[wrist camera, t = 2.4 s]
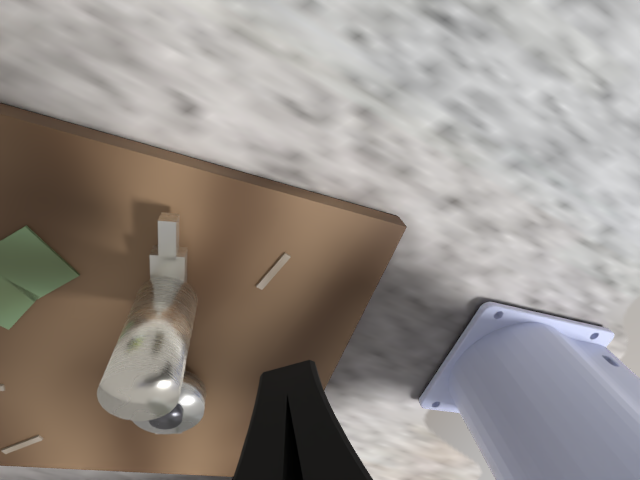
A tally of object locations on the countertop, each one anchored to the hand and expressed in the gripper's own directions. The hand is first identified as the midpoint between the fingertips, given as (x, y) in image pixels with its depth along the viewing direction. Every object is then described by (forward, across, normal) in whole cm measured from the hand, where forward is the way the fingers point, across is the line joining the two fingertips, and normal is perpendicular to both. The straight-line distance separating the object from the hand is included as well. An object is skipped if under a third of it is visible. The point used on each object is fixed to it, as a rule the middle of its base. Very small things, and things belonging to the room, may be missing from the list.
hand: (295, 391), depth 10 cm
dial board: (+8, +6, +4) cm, 11 cm away
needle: (+6, +5, +2) cm, 9 cm away
